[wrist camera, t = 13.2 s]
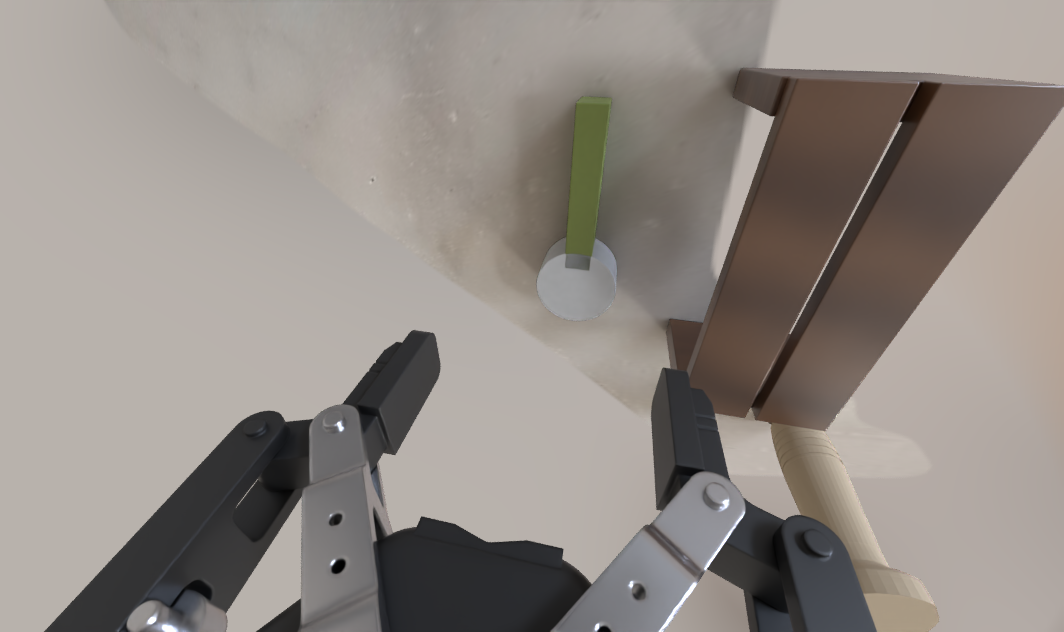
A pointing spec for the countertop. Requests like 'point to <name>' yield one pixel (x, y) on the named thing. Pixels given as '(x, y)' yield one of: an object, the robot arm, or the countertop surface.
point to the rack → (849, 228)
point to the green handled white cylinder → (582, 227)
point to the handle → (850, 528)
